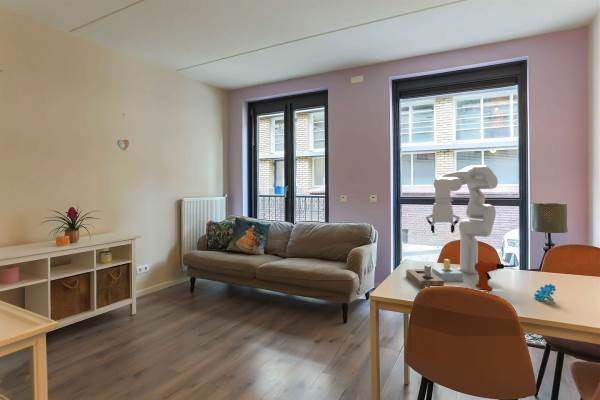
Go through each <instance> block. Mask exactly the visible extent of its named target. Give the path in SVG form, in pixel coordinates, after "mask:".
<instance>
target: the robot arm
mask: <svg viewBox="0 0 600 400" xmlns="http://www.w3.org/2000/svg"><path fill="white" fill-rule="evenodd" d="M498 183H499V180H498V177H497V176H496V174H495V172H494V171H493V170H492V169H491V168H490V167H489V166H487V165H485V164H484V165H469V166H468V165H467V166H466V167H463V168H462V169H460V170H458V171H453V172H450V173H444V174H442V175H439V176H438V177H436V178H435V179H434V181H433V188H434V193H435V194H434V198H435V199H434V201H435V202H434V203H433V205H432V213H431V214H430V215H427V216H426V217H425V219H426V221H427V223H428V224H429V225H430V231H431V232H432V234H435V224H436V223H450V232H451V234H454V232H455V226H456V224H458V223H459V225H458V229H459V238H460V242H459V243H460V247H459V249H460V250H459V251H460V252H459V266H458V267H457V268H456V270H458V271H460V272H462V273H471V274H473V273H474V274H476V275H477V274H478V272H477V271H476V270H475V268H474V266H475V264H476V263H478V262H479V261H478V259H479V258H478V257H479V254H478V253H479V242H478V240H477V238H476V237H481V238H488V237H489V236H490V235H491V233H492V230H493V227H494V223H495V219H496V216H497V212H496V211H497V210H496V207H495V205H492V204H488V203H485V202H486V196H485V194H484V192H482V190H493V189H494V190H495V188H497V187H498ZM464 185H467V189H468V191H469V199H468V200H469V201H468V202H467V207H466V211H465V215H466V217H467V218H466V219H462V220H461V221H460V219H461V217H460V216H458V215H456V214H454V211H453V206H452V202H454V198H451V192H457V191H459V190H461V188H462V187H463V186H464ZM431 218H432V221H431V220H430V219H431ZM454 218H455V220H454ZM459 221H460V222H459ZM478 275H479V274H478Z"/></svg>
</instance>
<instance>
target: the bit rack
mask: <svg viewBox="0 0 600 400" xmlns="http://www.w3.org/2000/svg"><path fill="white" fill-rule="evenodd" d="M405 274H406V275H405V277H406V278H407V279H408V280H409V281H411V283H413V284H414V285H415V286H417V288H419V289H420V290H424V289H423V288H425V287H430V286H444V287H445V281H444V280H442V279H441V278H439V277H438V276H436V275H435V274H433V273H432V271H431V279H424V269H422V268H420V269H419V268H417V269H415V268H413V269H411V268H409V269H406V271H405Z"/></svg>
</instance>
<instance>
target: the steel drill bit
mask: <svg viewBox="0 0 600 400" xmlns="http://www.w3.org/2000/svg"><path fill="white" fill-rule="evenodd" d="M431 272H432V265H429V264H427V265H424V279H431Z"/></svg>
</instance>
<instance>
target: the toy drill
mask: <svg viewBox="0 0 600 400" xmlns="http://www.w3.org/2000/svg"><path fill="white" fill-rule="evenodd" d="M474 268H475V270H476V271H477V272H478V283H476V284H475V288H476V289H477V290H479V291H483V292H484V291H485V290H486V291H487V292H492V291H493V287H492V286H490V285H489V280H491V279H492V277H491V276H490V273H489V272H494V271H497V270H501V269H502V270H504V269H505V268H516V265H515V264H509V265H508V264H507V265H506V264H505V265H504V264H503V263H497V262H492V261H489V262H488V261H483V260H479V261H478V263H476V264H475V266H474ZM486 291H485V292H486Z"/></svg>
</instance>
